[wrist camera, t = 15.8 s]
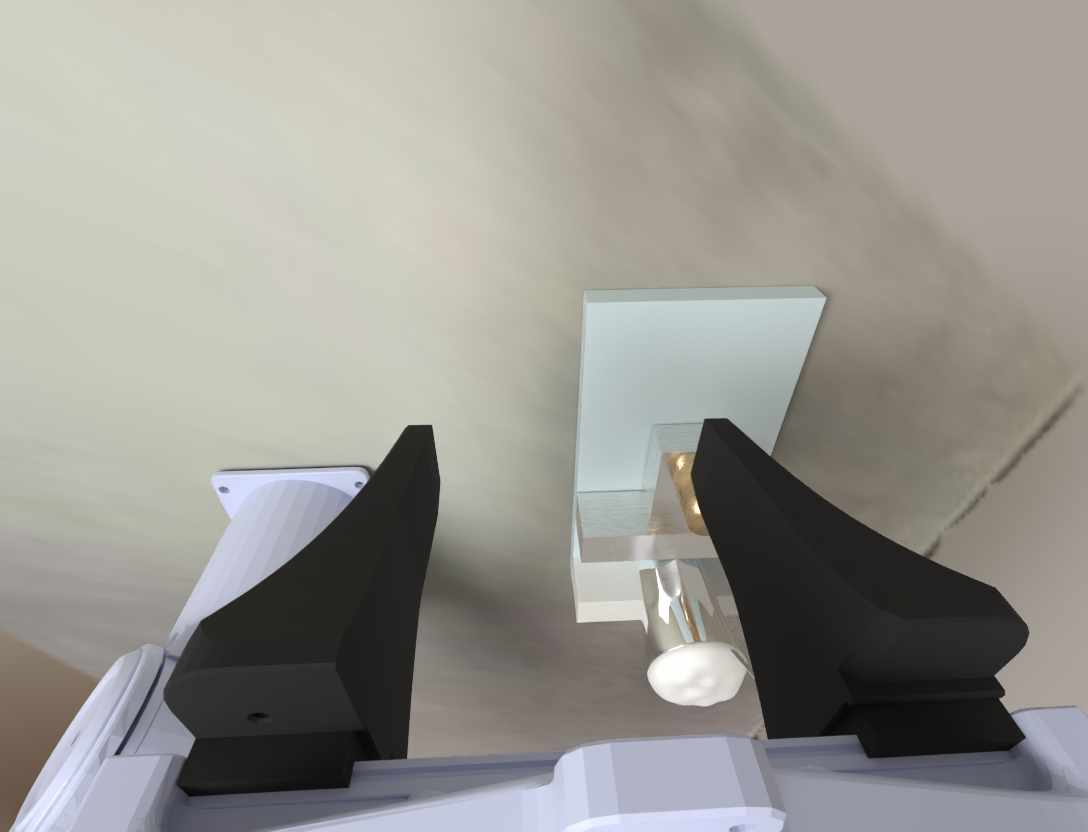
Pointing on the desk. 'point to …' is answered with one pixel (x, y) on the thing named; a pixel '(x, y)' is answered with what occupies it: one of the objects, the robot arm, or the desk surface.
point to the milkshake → (687, 634)
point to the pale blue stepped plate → (676, 396)
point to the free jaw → (649, 508)
